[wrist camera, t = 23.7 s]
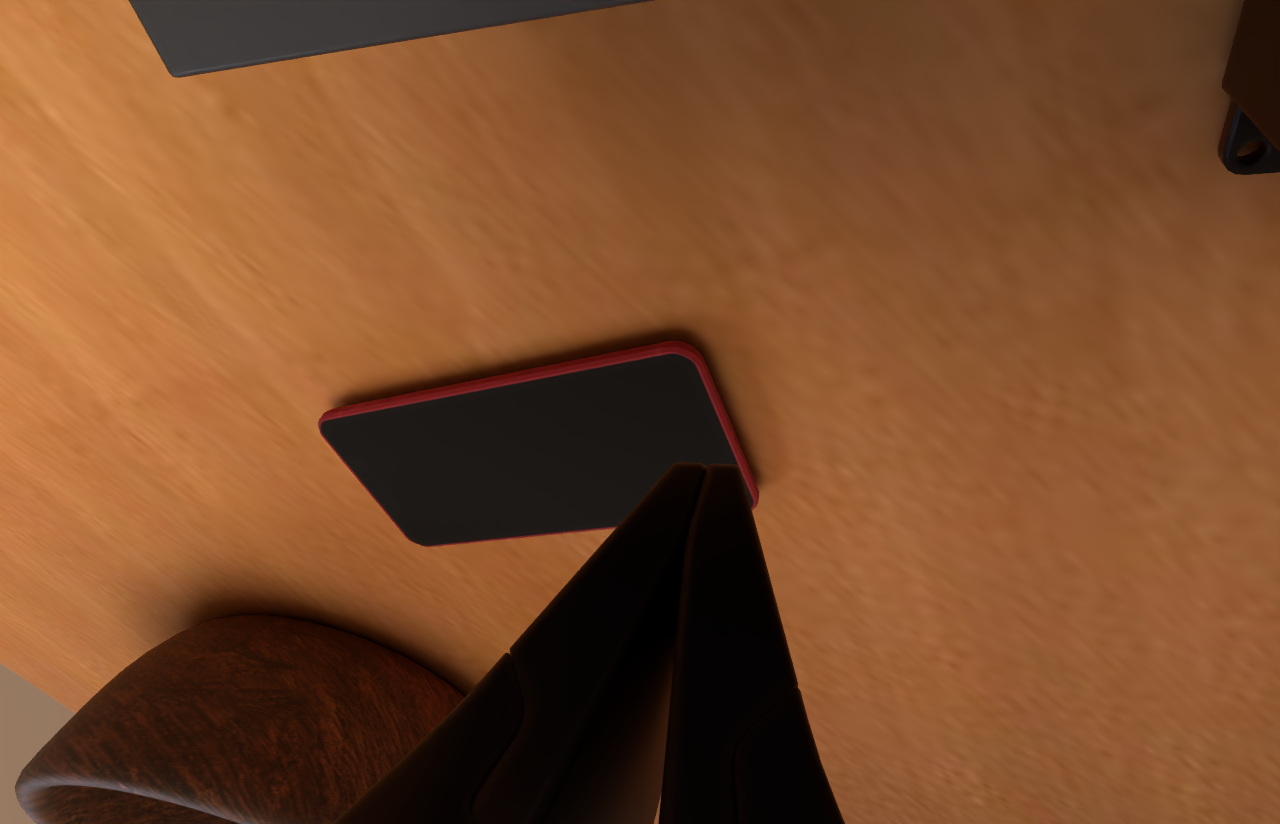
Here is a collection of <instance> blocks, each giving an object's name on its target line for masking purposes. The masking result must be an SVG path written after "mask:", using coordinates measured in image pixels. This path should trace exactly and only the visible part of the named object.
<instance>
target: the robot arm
mask: <svg viewBox="0 0 1280 824" xmlns="http://www.w3.org/2000/svg"><path fill="white" fill-rule="evenodd" d="M1222 88H1223V89H1224V90H1225V92H1226V93H1227V94H1228V95H1229V96H1230V97H1231V98H1232V99H1231V103H1230V106H1229V110H1228V113H1227V117H1226V121H1225V124H1224V128H1223V131H1222V135H1221V138H1220V142H1219V146H1218V156H1219V158H1220V160H1221V162H1222V163H1223V164H1224V166H1225V167H1226V168H1227V170H1229V171H1230V172H1232V173H1234V174H1241V175H1250V174H1263V173H1276V172H1280V0H1244V3H1243V7H1242V10H1241V14H1240V18H1239V22H1238V25H1237V29H1236V33H1235V36H1234V40H1233V44H1232V48H1231V51H1230V55H1229V59H1228V62H1227V66H1226V70H1225V74H1224V77H1223V81H1222ZM1255 140H1258V141H1260V144H1259V146H1258V147H1257V149H1256V150H1255V151H1253V152H1252V153H1250V154H1248V155H1244V156H1238V152H1239V150H1240V149H1241V147H1243V146H1244V145H1245V144H1247V143H1248V142H1252V141H1255ZM661 792H662V793H661ZM660 796H661V803H660V814H659V824H845V822H844V820H843V818H842V815H841V813H840V810H839V808H838V805H837V803H836V800H835V797H834V795H833V792H832V790H831V787H830V784H829V782H828V779H827V777H826V774H825V771H824V769H823V766H822V764H821V760H820V757H819V754H818V751H817V747H816V744H815V741H814V738H813V734H812V731H811V728H810V725H809V721H808V718H807V714H806V710H805V707H804V703H803V699H802V695H801V692H800V690H799V688H798V682H797V678H796V674H795V670H794V667H793V663H792V659H791V655H790V652H789V648H788V644H787V640H786V637H785V633H784V629H783V626H782V622H781V618H780V614H779V611H778V607H777V603H776V599H775V596H774V592H773V588H772V584H771V581H770V577H769V573H768V569H767V566H766V562H765V558H764V555H763V551H762V547H761V543H760V540H759V536H758V532H757V528H756V525H755V521H754V517H753V513H752V510H751V506H750V502H749V498H748V495H747V491H746V487H745V483H744V480H743V476H742V472H741V469H740V467H739V466H737V465H729V464H710V465H708V467H706V465H704V464H702V463H687V462H677V463H675V464H673V465H672V466H671V467H670V468H669V469H668V470H667V471H666V472H665V473H664V475H663V476H662V477H661V478H660V479H659V480H658V481H657V483H656V484H655V485H654V486H653V487H652V488H651V489H650V490H649V492H648V493H647V494H646V495H645V496H644V497H643V498H642V500H641V501H640V502H639V503H638V504H637V505H636V506H635V507H634V509H633V510H632V511H631V512H630V513H629V514H628V515H627V516H626V518H625V519H624V520H623V521H622V522H621V523H620V524H619V526H618V527H617V528H616V529H615V530H614V531H613V532H612V533H611V535H610V536H609V537H608V538H607V539H606V540H605V541H604V542H603V544H602V545H601V546H600V547H599V548H598V549H597V550H596V552H595V553H594V554H593V555H592V556H591V557H590V558H589V559H588V561H587V562H586V563H585V564H584V565H583V566H582V567H581V568H580V570H579V571H578V572H577V573H576V574H575V575H574V576H573V578H572V579H571V580H570V581H569V582H568V583H567V584H566V585H565V587H564V588H563V589H562V590H561V591H560V592H559V593H558V594H557V596H556V597H555V598H554V599H553V600H552V601H551V602H550V604H549V605H548V606H547V607H546V608H545V609H544V610H543V611H542V613H541V614H540V615H539V616H538V617H537V618H536V619H535V621H534V622H533V623H532V624H531V625H530V626H529V627H528V628H527V630H526V631H525V632H524V633H523V634H522V635H521V636H520V637H519V639H518V640H517V641H516V642H515V643H514V644H513V645H512V647H511V648H510V654H509V653H505V654H504V655H503V656H502V657H501V659H500V660H499V661H498V662H497V663H496V664H495V665H494V666H493V668H492V669H491V670H490V671H489V672H488V673H487V674H486V676H485V677H484V678H483V679H482V680H481V681H480V682H479V683H478V684H477V685H476V686H475V687H474V688H473V689H472V691H471V692H470V693H469V694H468V695H467V696H466V697H465V698H464V699H463V700H462V701H461V702H460V703H459V704H458V706H457V707H456V708H455V709H454V710H453V711H452V712H451V713H450V714H449V715H448V716H446V717H445V718H444V719H443V720H442V721H441V722H440V723H439V724H438V725H437V726H436V727H435V728H434V729H433V730H432V731H431V732H430V733H429V734H428V735H427V736H426V737H425V738H424V739H423V740H422V741H421V742H420V743H419V744H418V745H416V746H415V747H414V748H413V749H412V750H411V751H410V752H409V753H408V754H407V755H406V756H405V757H404V758H402V759H401V760H400V761H399V762H398V763H397V764H396V765H395V766H394V767H393V768H392V769H391V770H390V771H388V772H387V773H386V774H385V775H384V776H383V777H382V778H381V779H380V780H379V781H378V782H377V783H375V784H374V785H373V786H372V787H371V788H370V789H369V790H368V791H367V792H366V793H365V794H364V795H363V796H361V797H360V798H359V799H358V800H357V801H356V802H355V803H354V804H353V805H352V806H351V807H350V808H349V809H347V810H346V811H345V812H344V813H343V814H342V815H341V816H340V817H339V818H338V819H337V820H336V821H334V822H333V823H332V824H654V820H655V816H656V812H657V808H658V804H659V800H660Z"/></svg>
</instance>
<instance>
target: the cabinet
mask: <svg viewBox="0 0 1280 824" xmlns="http://www.w3.org/2000/svg"><path fill="white" fill-rule="evenodd" d="M647 1H653V0H129V2H130V3H131V5H132V7H133V9H134V11H135V12H136V14H137V16H138V18H139V20H140V21H141V23H142V25H143V27H144V28H145V30H146V32H147V34H148V36H149V37H150V39H151V41H152V43H153V45H154V46H155V48H156V50H157V52H158V54H159V55H160V57H161V59H162V61H163V62H164V64H165V66H166V68H167V70H168V71H169V73H170V74H171V75H172V76H173V77H178V78H180V77H186V76H192V75H199V74H205V73H211V72H217V71H223V70H229V69H235V68H242V67H248V66H254V65H260V64H266V63H272V62H278V61H285V60H291V59H297V58H303V57H309V56H315V55H321V54H327V53H334V52H340V51H346V50H352V49H358V48H364V47H370V46H377V45H383V44H389V43H395V42H401V41H407V40H413V39H420V38H426V37H432V36H438V35H444V34H450V33H456V32H463V31H469V30H475V29H481V28H487V27H493V26H499V25H506V24H512V23H518V22H524V21H530V20H536V19H542V18H549V17H555V16H561V15H567V14H573V13H579V12H585V11H591V10H598V9H604V8H610V7H616V6H622V5H628V4H634V3H641V2H647Z"/></svg>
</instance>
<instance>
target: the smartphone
mask: <svg viewBox="0 0 1280 824" xmlns="http://www.w3.org/2000/svg"><path fill="white" fill-rule="evenodd" d="M318 426H319V430H320V433H321V435H322V437H323V438H324V439H325V440H326V442H327V443H328V444H329V445H330V446H331V448H332V449H333V450H334V451H335V452H336V454H337V455H338V456H339V457H340V458H341V460H342V461H343V462H344V463H345V464H346V466H347V467H348V468H349V469H350V470H351V472H352V473H353V474H354V475H355V476H356V478H357V479H358V480H359V481H360V483H361V484H362V485H363V486H364V487H365V489H366V490H367V491H368V492H369V493H370V495H371V496H372V497H373V498H374V499H375V501H376V502H377V503H378V504H379V505H380V507H381V508H382V509H383V510H384V511H385V513H386V514H387V515H388V516H389V517H390V519H391V520H392V521H393V522H394V523H395V525H396V526H397V527H398V528H399V529H400V531H401V532H402V533H403V534H404V535H405V537H406V538H408V539H409V540H410V541H412V542H414V543H416V544H419V545H421V546H425V547H434V546H444V545H454V544H464V543H474V542H484V541H494V540H503V539H513V538H523V537H533V536H543V535H553V534H563V533H573V532H582V531H592V530H602V529H612V528H617V527H618V526H619V524H620V523H621V522H622V521H623V520H624V519H625V518H626V516H627V515H628V514H629V513H630V512H631V511H632V510H633V509H634V507H635V506H636V505H637V504H638V503H639V502H640V501H641V500H642V498H643V497H644V496H645V495H646V494H647V493H648V492H649V490H650V489H651V488H652V487H653V486H654V485H655V484H656V483H657V481H658V480H659V479H660V478H661V477H662V476H663V475H664V473H665V472H666V471H667V470H668V469H669V468H670V467H671V466H672V465H673V464H675V463H677V462H687V463H702V464H704V465H706V467H708V465H710V464H729V465H737V466H739V467H740V469H741V472H742V476H743V480H744V483H745V487H746V491H747V495H748V498H749V502H750V506H751V510H753V509H754V508H755V507H756V505H757V503H758V499H759V491H758V488H757V485H756V483H755V480H754V478H753V476H752V473H751V471H750V468H749V466H748V464H747V461H746V459H745V456H744V454H743V452H742V449H741V447H740V444H739V442H738V440H737V437H736V435H735V432H734V430H733V428H732V425H731V423H730V420H729V418H728V416H727V413H726V411H725V408H724V406H723V403H722V401H721V399H720V396H719V394H718V391H717V389H716V387H715V384H714V382H713V379H712V377H711V375H710V372H709V370H708V367H707V365H706V363H705V361H704V359H703V357H702V355H701V353H700V352H699V351H698V350H697V349H696V348H695V347H693V346H692V345H690V344H688V343H685V342H681V341H666V342H661V343H656V344H652V345H647V346H642V347H637V348H632V349H627V350H622V351H617V352H612V353H607V354H602V355H597V356H592V357H587V358H582V359H577V360H572V361H567V362H562V363H557V364H552V365H547V366H542V367H537V368H532V369H527V370H522V371H517V372H512V373H507V374H502V375H497V376H492V377H488V378H483V379H478V380H473V381H468V382H463V383H458V384H453V385H448V386H443V387H438V388H433V389H428V390H423V391H418V392H413V393H408V394H403V395H398V396H393V397H388V398H383V399H378V400H373V401H368V402H363V403H358V404H353V405H348V406H343V407H338V408H334V409H331V410H329V411H327V412H325V413H324V414H323V415H322V417H321V418H320V419H319V422H318Z"/></svg>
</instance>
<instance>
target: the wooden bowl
mask: <svg viewBox="0 0 1280 824" xmlns="http://www.w3.org/2000/svg"><path fill="white" fill-rule="evenodd" d="M464 698H465V697H464V696H463V695H462V694H461V693H459V692H458V691H457V690H456V689H454V688H453V687H452V686H450V685H449V684H448V683H446V682H445V681H443V680H442V679H440V678H439V677H437V676H436V675H434V674H433V673H431V672H429V671H428V670H426V669H424V668H423V667H421V666H419V665H418V664H416V663H414V662H412V661H410V660H408V659H407V658H405V657H403V656H401V655H399V654H397V653H395V652H393V651H390V650H388V649H386V648H384V647H382V646H379V645H377V644H375V643H372V642H370V641H368V640H365V639H362V638H360V637H357V636H354V635H352V634H349V633H346V632H343V631H340V630H337V629H333V628H330V627H326V626H323V625H319V624H315V623H311V622H307V621H302V620H297V619H291V618H286V617H278V616H269V615H238V616H230V617H224V618H219V619H215V620H210V621H206V622H204V623H201V624H199V625H196V626H194V627H192V628H190V629H187V630H185V631H183V632H181V633H179V634H177V635H175V636H173V637H172V638H170V639H168V640H167V641H165V642H163V643H161V644H160V645H158V646H156V647H155V648H153V649H151V650H150V651H148V652H147V653H145V654H144V655H142V656H141V657H140V658H138V659H137V660H136V661H134V662H133V663H132V664H130V665H129V666H128V667H126V668H125V669H124V670H123V671H121V672H120V673H119V674H118V675H117V676H116V677H114V678H113V679H112V680H111V681H110V682H109V683H108V684H106V685H105V686H104V687H103V688H102V689H101V690H100V691H99V692H98V693H97V694H96V695H95V696H94V697H93V698H91V699H90V700H89V701H88V702H87V703H86V704H85V705H84V706H83V707H82V708H81V709H80V710H79V711H78V712H77V713H76V714H75V715H74V716H73V718H71V719H70V720H69V721H68V722H67V723H66V724H65V725H64V726H63V727H62V728H61V729H60V730H59V732H58V733H57V734H55V736H54V737H53V738H52V739H51V740H50V741H49V742H48V743H47V744H46V745H45V746H44V747H43V748H42V749H41V750H40V751H39V752H38V753H37V754H36V756H35V757H34V758H33V759H32V760H31V761H30V762H29V763H28V764H27V765H26V767H25V768H24V769H23V770H22V772H21V774H20V776H19V778H18V780H17V782H16V785H15V792H16V796H17V799H18V801H19V803H20V805H21V807H22V808H23V809H24V811H25V812H26V814H27V815H29V817H30V818H31V819H32V820H33V821H34V822H36V823H37V824H332V823H333V822H334V821H336V820H337V819H338V818H339V817H340V816H341V815H342V814H343V813H344V812H345V811H346V810H347V809H349V808H350V807H351V806H352V805H353V804H354V803H355V802H356V801H357V800H358V799H359V798H360V797H361V796H363V795H364V794H365V793H366V792H367V791H368V790H369V789H370V788H371V787H372V786H373V785H374V784H375V783H377V782H378V781H379V780H380V779H381V778H382V777H383V776H384V775H385V774H386V773H387V772H388V771H390V770H391V769H392V768H393V767H394V766H395V765H396V764H397V763H398V762H399V761H400V760H401V759H402V758H404V757H405V756H406V755H407V754H408V753H409V752H410V751H411V750H412V749H413V748H414V747H415V746H416V745H418V744H419V743H420V742H421V741H422V740H423V739H424V738H425V737H426V736H427V735H428V734H429V733H430V732H431V731H432V730H433V729H434V728H435V727H436V726H437V725H438V724H439V723H440V722H441V721H442V720H443V719H444V718H445V717H446V716H448V715H449V714H450V713H451V712H452V711H453V710H454V709H455V708H456V707H457V706H458V704H459V703H460V702H461V701H462V700H463V699H464Z"/></svg>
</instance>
